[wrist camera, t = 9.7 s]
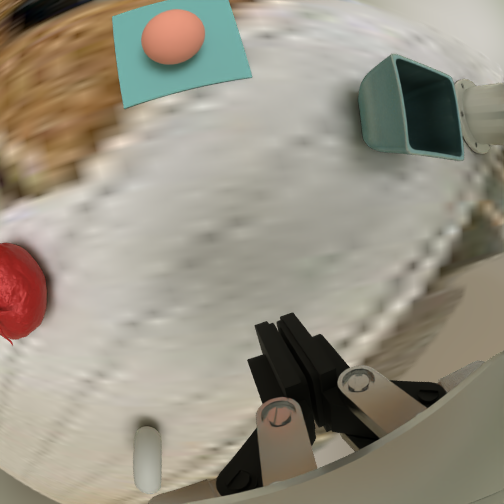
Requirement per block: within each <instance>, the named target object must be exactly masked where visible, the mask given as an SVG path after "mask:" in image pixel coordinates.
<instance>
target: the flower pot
mask: <svg viewBox="0 0 504 504" xmlns="http://www.w3.org/2000/svg"><path fill="white" fill-rule="evenodd" d="M358 103H359V110H360V117H361V125H362V135H363V139H364V141H365V143H366V144H367V145H368V146H369V147H370V148H372V149H374V150H377V151H380V152H389V153H401V154H411V155H421V156H429V157H436V158H443V159H450V160H457V161H463V160H464V145H463V136H462V129H461V121H460V115H459V108H458V102H457V96H456V91H455V86H454V83H453V80H452V78H451V76H449V75H447V74H445V73H443V72H441V71H438V70H436V69H433V68H431V67H428V66H426V65H424V64H421V63H418V62H416V61H413V60H411V59H408V58H406V57H403V56H400V55H398V54H391V55H390V56H388V57H387V58H386V59H385V60H383V61H382V62H381V63H379V64H378V65H377V66H376V67H375V68H373V69H372V70H371V71H370V72H369V73H368V74H367V75H366V76H365V77H364V79H363V81H362V83H361V85H360V89H359V96H358Z"/></svg>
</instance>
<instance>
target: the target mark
mask: <svg viewBox="0 0 504 504" xmlns="http://www.w3.org/2000/svg"><path fill="white" fill-rule="evenodd" d="M174 9H181V10H186V11H189V12H191V13H193V14H195V15H196V16H197V17H198V18H199V19H200V20H201V21H202V23H203V25H204V28H205V39H204V42H203V45H202V47H201V48H200V50H199V51H198V52H197V53H196V54H195V55H194V56H193V57H191V58H190V59H188V60H186V61H184V62H182V63H178V64H169V65H168V64H161V63H158V62H155V61H153V60H152V59H150V58H149V57H148V56H147V55H146V54H145V52H144V50H143V48H142V43H141V37H142V33H143V30H144V28H145V26H146V25H147V23H148V22H149V21H150V20H151V19H152V18H154V17H155V16H156V15H158V14H160V13H162V12H165V11H168V10H174ZM112 20H113V32H114V43H115V52H116V60H117V67H118V74H119V81H120V87H121V93H122V99H123V105H124V109H126V108H129V107H132V106H134V105H137V104H140V103H143V102H146V101H150V100H153V99H156V98H159V97H163V96H166V95H170V94H173V93H177V92H181V91H185V90H189V89H193V88H197V87H202V86H206V85H211V84H216V83H221V82H227V81H232V80H238V79H245V78H252V74H251V71H250V67H249V64H248V60H247V57H246V54H245V50H244V47H243V44H242V41H241V38H240V34H239V31H238V28H237V25H236V22H235V19H234V16H233V13H232V10H231V7H230V4H229V1H228V0H167V1H163V2H159V3H155V4H151V5H147V6H144V7H140V8H137V9H134V10H131V11H127V12H124V13H121V14H119V15H116V16H113V17H112Z"/></svg>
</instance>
